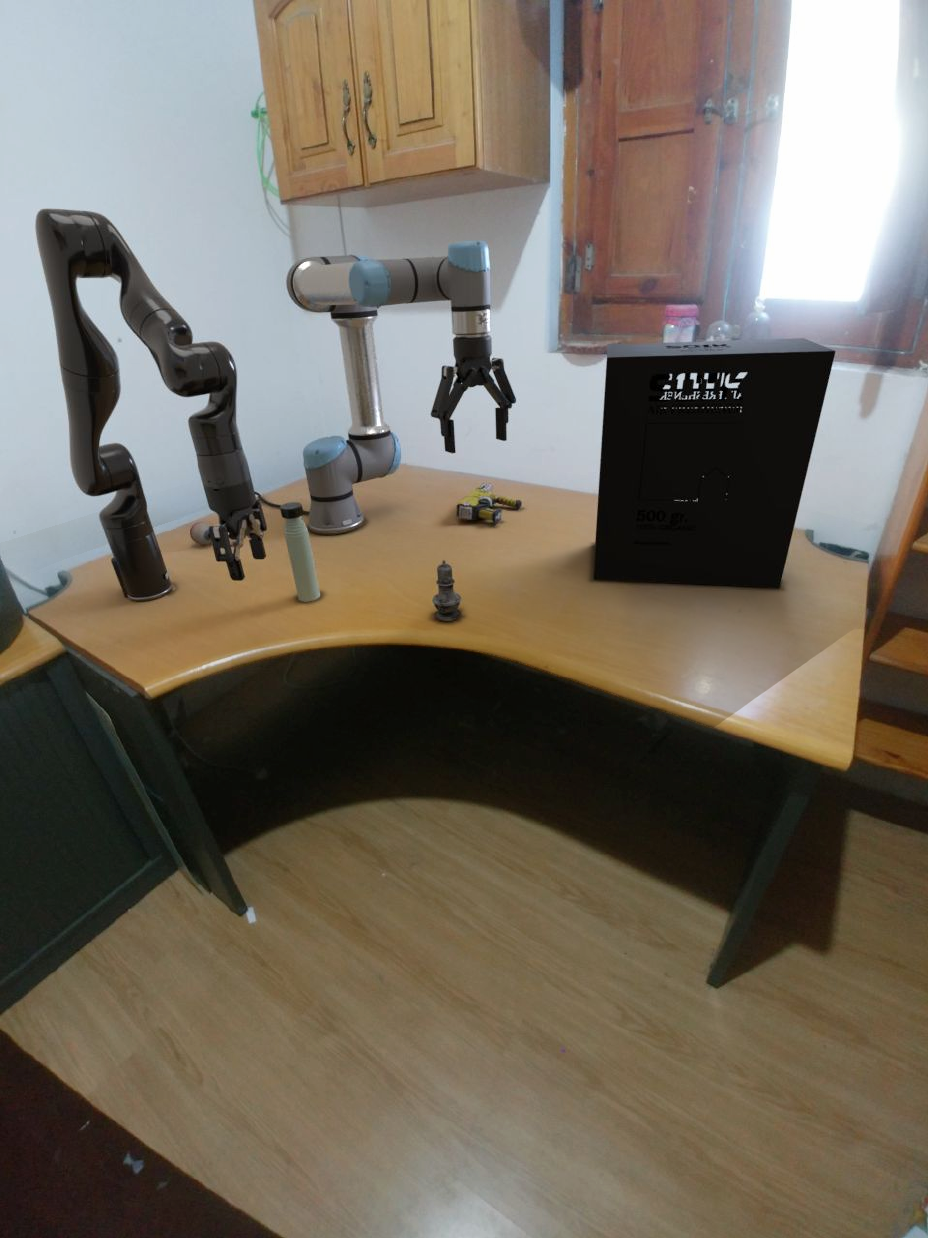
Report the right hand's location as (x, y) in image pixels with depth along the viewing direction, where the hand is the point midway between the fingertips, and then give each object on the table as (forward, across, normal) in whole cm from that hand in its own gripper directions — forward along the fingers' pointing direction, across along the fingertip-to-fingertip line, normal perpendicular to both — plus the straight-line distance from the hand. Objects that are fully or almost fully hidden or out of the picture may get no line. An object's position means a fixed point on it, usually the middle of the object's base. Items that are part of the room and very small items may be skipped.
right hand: (476, 445), depth 127 cm
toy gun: (+28, +26, +27) cm, 47 cm away
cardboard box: (+28, +34, -30) cm, 53 cm away
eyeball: (+28, -46, +61) cm, 82 cm away
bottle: (+28, -38, +13) cm, 49 cm away
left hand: (+11, -52, -2) cm, 54 cm away
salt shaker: (+28, -19, -14) cm, 37 cm away
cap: (+7, -38, +13) cm, 40 cm away
